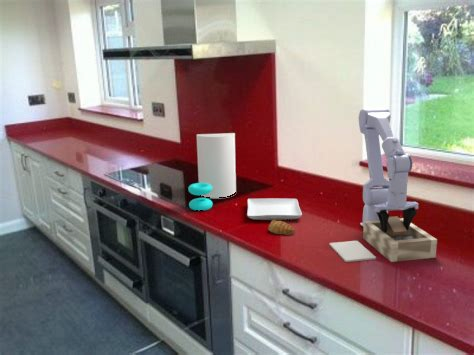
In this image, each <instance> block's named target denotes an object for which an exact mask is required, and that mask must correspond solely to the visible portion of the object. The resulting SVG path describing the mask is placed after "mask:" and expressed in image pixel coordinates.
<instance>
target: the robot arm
mask: <svg viewBox="0 0 474 355" xmlns="http://www.w3.org/2000/svg"><path fill="white" fill-rule="evenodd" d="M391 114H392V113H391V110H390V108H389V107H386V106H385V107H373V108H372V107H370V108H369V107H368V108H366V107H362V108H361V109H360V111H359V113H358V125H359V131H360V133H361V134H363V135H364V141H365V149H366V150H365V151H366V159H367V165H368V166H367V167H368V175H369V179H368V180H367V181H366V182H365V183H364V184H363V186H362V201H363V203H364V206H363V209H362V210H363V212H362V222H360V226H362V227H364V222H367V221H378V220H380V223H381V228H382V231H383V232H384V233H387V224H388V219H389V217H391V215H390V214H389V212H390V211H402V216H403V217H402V218H403V225H404V227H405V228H406V230H407V231H408V229H409V226H410V223H412V221H413V219H414V218H415V217H416V215H417V212H418V211H417V210H419V203H418V202H416V201H407V196H408V195H407V194H408V182H409V181H408V180H409V179H408V178H409V173H410V172H412V169H413V159H412V156H411V155H410V154H409V153H407V152H405V151H404V149H403V146H402V145H401V142H400V140H399V139H398V138H397V137H394V134H393V130H392V128H391V124H390V123H391V118H392V116H391ZM380 138H381V140H382V144H381V143H380V142H381V141H380ZM381 148H382V151H383V153H384V155H385V158H386V160H387V161H386V170H387V178H388V180H387V179H386V178H385V176H384V168H383V167H384V166H383V159H382V158H383V157H382V151H381Z"/></svg>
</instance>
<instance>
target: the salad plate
mask: <svg viewBox="0 0 474 355" xmlns="http://www.w3.org/2000/svg"><path fill="white" fill-rule="evenodd" d="M246 202H247V211H246V212H247V213H246V216H247V217H248V218H249V219H251V220H257V221H273V220H276V221H282V220H285V221H286V220H287V219H288V220H289V219H290V220H297V219H299V218H301V217H302V215H303V213H302V209H301V208H300V206H299V201H298V199H297V198H273V197H272V198H271V197H270V198H269V197H268V198H248V199H247V201H246ZM288 220H287V221H288Z"/></svg>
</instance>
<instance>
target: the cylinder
mask: <svg viewBox="0 0 474 355" xmlns="http://www.w3.org/2000/svg"><path fill="white" fill-rule="evenodd" d="M196 152H197V153H196V154H197V173H198V174H197V176H198V183H207V184H210V185H211V186H212V191H211V192H210V193H208V194H206V195H201V197H202V196H204V197H203V198H206V197H210V198H209V199H220V198H219V197H226V198H228V197H227V196H230V195H232V194H234V193H235V192H236V193H237V174H236V133H235V132H229V133H228V132H227V133H226V132H225V133H224V132H223V133H200V134H199V133H198V134H196Z"/></svg>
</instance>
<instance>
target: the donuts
mask: <svg viewBox="0 0 474 355" xmlns="http://www.w3.org/2000/svg"><path fill="white" fill-rule="evenodd" d="M187 188H188V192H189V193H190V194H191V195H194V196H200V195H206V194H208V193H210V192H211V191H212V186H211V185H210V184H207V183H199V182H196V183H192V184H190V185H189V186H188V187H187ZM213 204H214V203H213V201H212V200H211V199H210V198H206V197H198V198H197V197H196V198H194V199H192V200H190V201H189V203H188V206H189V208H190V209H191V210H193V211H196V210H198V211H197V212H201V211H200V210H203V211H208V210H210V209H212V207H213Z"/></svg>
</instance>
